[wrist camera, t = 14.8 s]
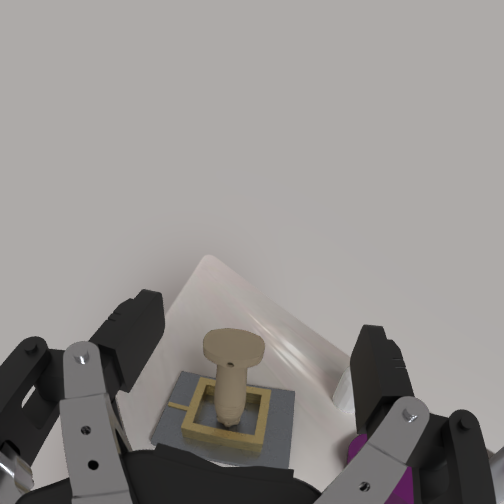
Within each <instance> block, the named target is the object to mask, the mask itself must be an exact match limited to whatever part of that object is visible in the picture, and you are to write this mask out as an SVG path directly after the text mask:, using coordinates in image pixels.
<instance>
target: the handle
mask: <svg viewBox="0 0 504 504" xmlns="http://www.w3.org/2000/svg"><path fill="white" fill-rule="evenodd" d="M264 349H265V344H264V341H263V339H262V338H261V337H260V336H258V335H255V334H253V333H251V332H248V331H245V330H239V329H231V328H225V329H217V330H211V331H210V332H208V333H207V334H206V336H205V337H204V340H203V352H204V355H205V357H206V358H207V359H209V360H210V361H212V362H213V363H215V364H217V374H216V384H215V392H214V404H215V410H216V414H217V416H216V417H217V420H218V422H220V423H222V424H224V426H225V427H230V426H232V425H237V424H238V423H239V422H240V417H241V415H242V413H243V410H244V407H245V402H246V383H247V368H248V367H252V366H255V365H257V364H259V363H260V362H261V360H262V358H263V354H264Z"/></svg>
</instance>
